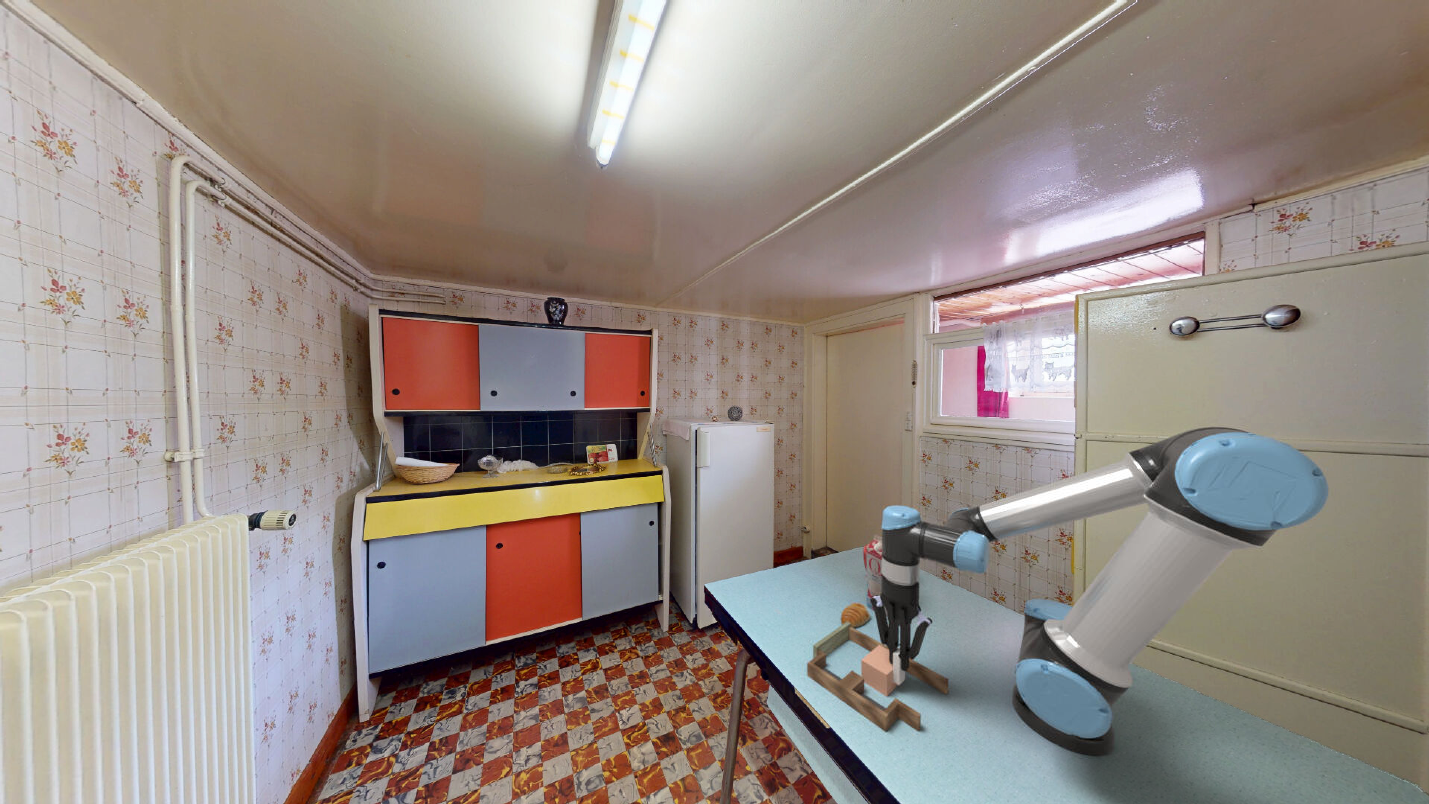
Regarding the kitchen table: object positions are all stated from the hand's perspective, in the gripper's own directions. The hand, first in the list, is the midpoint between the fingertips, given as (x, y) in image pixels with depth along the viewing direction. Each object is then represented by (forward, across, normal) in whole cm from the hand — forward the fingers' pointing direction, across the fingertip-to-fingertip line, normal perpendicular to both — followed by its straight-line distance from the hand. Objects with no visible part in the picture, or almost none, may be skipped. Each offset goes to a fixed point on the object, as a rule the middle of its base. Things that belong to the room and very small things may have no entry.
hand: (898, 680), depth 85 cm
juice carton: (+2, +18, -27) cm, 32 cm away
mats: (+2, +6, +9) cm, 11 cm away
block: (+2, +4, 0) cm, 4 cm away
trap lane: (+2, +5, +2) cm, 6 cm away
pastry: (+3, +20, -16) cm, 26 cm away
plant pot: (+2, +24, -41) cm, 48 cm away
